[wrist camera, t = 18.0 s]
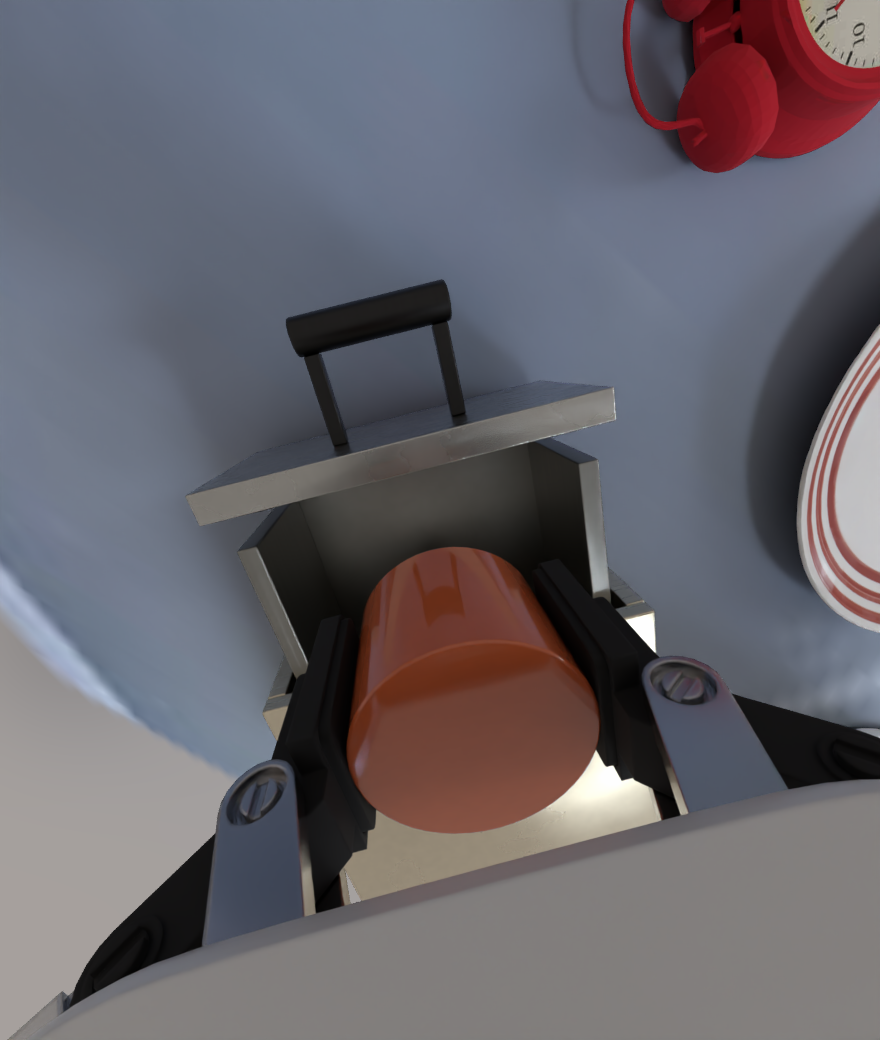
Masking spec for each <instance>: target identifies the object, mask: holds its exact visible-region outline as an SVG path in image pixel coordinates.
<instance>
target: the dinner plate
mask: <svg viewBox="0 0 880 1040" xmlns="http://www.w3.org/2000/svg"><path fill="white" fill-rule="evenodd" d="M797 511H798V512H797V523H796V525H797V536H798V545H799V552H800V557H801V560H802V564H803V567H804V570H805V572H806V574H807V577H808V579H809V581H810V583H811V585H812V586H813V588H814V589H815V591H816V592H817V594H818V595H819V596H820V598H821V599H822V600H823V601H824V602H825V603H826V604H827V605H828V606H829V607H830V608H831V609H832V610H833V611H834V612H836V613H837V614H838V615H840V616H841V617H843V618H844V619H845V620H847V621H849V622H851V623H853V624H855V625H857V626H859V627H862V628H865V629H868V630H871V631H874V632H878V633H880V324H879V326H878V327H877V328H876V329H875V330H874V332H873V333H872V335H871V336H870V338H869V339H868V341H867V342H866V344H865V345H864V347H863V348H862V349H861V351H860V353H859V355H858V356H857V357H856V358H855V359H854V361H853V363H852V364H851V366H850V367H849V369H848V371H847V372H846V374H845V376H844V377H843V379H842V381H841V383H840V384H839V386H838V388H837V390H836V392H835V394H834V395H833V397H832V399H831V401H830V403H829V405H828V407H827V409H826V411H825V413H824V415H823V417H822V419H821V421H820V424H819V426H818V428H817V431H816V433H815V435H814V438H813V441H812V444H811V447H810V450H809V452H808V455H807V458H806V461H805V465H804V468H803V472H802V477H801V481H800V487H799V495H798V503H797Z"/></svg>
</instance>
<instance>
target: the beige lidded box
mask: <svg viewBox="0 0 880 1040" xmlns="http://www.w3.org/2000/svg"><path fill="white" fill-rule="evenodd" d="M608 575H609V586H610V597H611V605H612V606H613V607H614V608H615V609H616V610H617V611H618V612H619V614H620V615H621V616H622V617H623V618H624V619H625V620H626V621H627V622H628V623H629V625H630V626H631V627H632V628H633V629H634V630H635V631H636V632H637V633H638V634H639V635H640V637H641V638H642V639H643V640H644V641H645V642H646V643H647V644H648V645H649V646H650V648H651V649H652V650H653V651H654V652H655V653H656V633H655V612H654V610H653V609H652V608H651V607H650V606H649V605H648V604H647V603H645V602H644V600H643V599H642V598H641V597H640V596H639V595H638V594H636V593H635V592H634V591H633V590H632V589H631V588H630V587H629V586H628V585H627V584H626V583H625V582H624V581H623V580H622V579H620V578H619V577H618V576H617V575H616V574H615V573H614V572H613V571H612V570H611V569H610V568H609V567H608ZM295 683H296V677H295V675H294V673H293V671H292V669H291V667H290V665H289V663H288V660H287V658H286V656H285V655H284V658H283V660H282V663H281V665H280V668H279V670H278V673H277V676H276V678H275V681H274V683H273V686H272V688H271V691H270V694H269V696H268V700H267V702H266V705H265V707H264V710H263V716H264V718H265V720H266V722H267V723H268V725H269V727H270V729H271V731H272V733H273V735H274V737H275V739H276V740H278V737H279V734H280V731H281V727H282V724H283V721H284V718H285V715H286V711H287V708H288V705H289V702H290V699H291V695H292V692H293V689H294V686H295ZM654 822H658V821H657V818H656V814H655V811H654V807H653V804H652V800H651V797H650V793H649V790H648V786H645V785H643V784H641V783H639V782H637V781H634V779H633V778H631V779H628V780H624V781H621V779H620V777H619V776H618V774H617V772H616V770H615V768H614V766H609V767H606V766H605V765H604V764H603V762H602V760H601V758H600V756H599V754H598V753H597V751H595V753H594V755H593V758H592V760H591V762H590V764H589V765H588V767H587V768H586V770H585V771H584V773H583V774H582V776H581V777H580V778H579V779H578V780H577V782H576V783H575V784H574V785H573V786H572V787H571V788H570V789H569V790H568V791H567V792H566V793H565V794H564V795H563V796H561V797H560V798H559V799H557V800H556V801H555V802H554V803H552V804H551V805H549V806H548V807H546V808H544V809H543V810H541V811H540V812H538V813H536V814H534V815H532V816H530V817H528V818H526V819H523V820H521V821H518V822H516V823H513V824H510V825H507V826H504V827H501V828H497V829H492V830H488V831H483V832H475V833H464V834H445V833H435V832H427V831H423V830H419V829H414V828H411V827H408V826H405V825H403V824H400V823H398V822H396V821H394V820H392V819H390V818H388V817H386V816H385V815H383V814H382V813H380V812H379V811H377V810H376V824H375V828H374V829H373V830H369V831H368V841H367V849H366V850H362V851H358V852H355V853H353V854H352V857H351V858H350V860H349V861H348V862H347V863H346V865H345V866H344V869H345V871H346V873H347V874H348V877H349V878H350V880H351V882H352V884H353V886H354V888H355V890H356V892H357V894H358V895H359V897H360V899H361V901H364V900H367V899H371V898H375V897H378V896H382V895H385V894H389V893H393V892H396V891H400V890H404V889H407V888H411V887H414V886H418V885H422V884H426V883H429V882H433V881H437V880H440V879H444V878H448V877H451V876H455V875H459V874H463V873H466V872H470V871H474V870H477V869H481V868H485V867H488V866H492V865H496V864H500V863H503V862H507V861H511V860H514V859H518V858H522V857H526V856H529V855H533V854H537V853H541V852H544V851H548V850H552V849H556V848H559V847H563V846H567V845H570V844H574V843H578V842H582V841H586V840H589V839H593V838H597V837H601V836H605V835H608V834H612V833H616V832H620V831H624V830H628V829H631V828H635V827H639V826H643V825H647V824H650V823H654Z"/></svg>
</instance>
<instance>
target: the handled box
mask: <svg viewBox="0 0 880 1040" xmlns="http://www.w3.org/2000/svg"><path fill="white" fill-rule="evenodd" d="M451 316H452V310H451V302H450V297H449V292H448V288H447V285H446V283H445V281H444V280H442V279H441V280H437V281H433V282H429V283H425V284H421V285H417V286H413V287H409V288H405V289H401V290H397V291H393V292H389V293H385V294H381V295H377V296H373V297H369V298H365V299H361V300H357V301H353V302H349V303H345V304H341V305H337V306H333V307H329V308H325V309H321V310H317V311H313V312H309V313H305V314H301V315H297V316H293V317H288V318H287V319H286V328H287V332H288V335H289V338H290V341H291V344H292V346H293V348H294V350H295V352H296V353H297V355H298V356H299V357H304V360H305V363H306V366H307V369H308V372H309V375H310V378H311V381H312V384H313V387H314V390H315V393H316V396H317V399H318V402H319V405H320V408H321V411H322V414H323V417H324V420H325V423H326V426H327V429H328V432H329V434H327V435H323V436H319V437H315V438H311V439H307V440H303V441H299V442H295V443H291V444H287V445H283V446H279V447H275V448H271V449H268V450H264V451H260V452H257V453H255V454H253V455H252V456H250V457H248V458H247V459H245V460H243V461H242V462H240V463H238V464H237V465H235V466H233V467H232V468H230V469H229V470H227V471H225V472H224V473H222V474H220V475H219V476H217V477H215V478H214V479H212V480H210V481H209V482H207V483H205V484H204V485H202V486H200V487H199V488H197V489H195V490H194V491H192V492H190V493H189V494H187V495H186V496H185V497H186V499H187V501H188V503H189V505H190V507H191V510H192V512H193V514H194V516H195V518H196V520H197V522H198V524H199V526H204V525H208V524H212V523H216V522H220V521H224V520H228V519H231V518H235V517H239V516H243V515H247V514H251V513H255V512H259V511H263V510H267V509H271V508H275V509H274V510H273V511H272V512H271V513H270V514H269V515H268V517H267V518H266V519H265V520H264V521H263V522H262V524H261V525H260V526H259V527H258V528H257V529H256V530H255V532H254V533H253V534H252V535H251V536H250V537H249V539H248V540H247V541H246V542H245V543H244V544H243V545H242V547H241V548H240V549H239V550H238V551H237V553H238V556H239V558H240V560H241V562H242V564H243V566H244V568H245V571H246V573H247V575H248V577H249V579H250V581H251V583H252V586H253V588H254V590H255V592H256V594H257V596H258V598H259V601H260V603H261V605H262V607H263V609H264V611H265V613H266V615H267V618H268V620H269V622H270V624H271V626H272V628H273V630H274V633H275V635H276V637H277V639H278V641H279V643H280V645H281V648H282V650H283V652H284V654H285V656H286V658H287V660H288V663H289V665H290V667H291V669H292V671H293V673H294V675H295V677H296V680H297V678H298V676H300V675H301V674H304V673H306V670H307V667H308V663H309V660H310V656H311V653H312V650H313V646H314V643H315V639H316V636H317V632H318V629H319V625H320V622H321V620H323V619H326V618H330V617H334V616H338V615H343V616H344V618H345V619H347V618H351V619H352V621H353V623H354V626H355V629H356V632H357V634H358V637H359V639H360V632H361V624H362V618H363V613H364V609H365V606H366V603H367V600H368V599H369V597H370V595H371V593H372V591H373V590H374V588H375V587H376V586H377V584H378V583H379V581H380V580H381V579H382V578H383V577H384V576H385V575H386V574H387V573H388V572H390V571H391V570H392V569H393V568H395V567H396V566H397V565H399V564H400V563H402V562H404V561H405V560H407V559H409V558H411V557H413V556H415V555H417V554H420V553H423V552H426V551H429V550H433V549H439V548H446V547H468V548H473V549H479V550H483V551H486V552H489V553H492V554H494V555H496V556H498V557H500V558H502V559H504V560H505V561H507V562H508V563H510V564H511V565H512V566H513V567H515V568H516V569H517V570H518V571H519V572H520V573H521V574H522V576H523V577H524V578H525V579H526V581H527V583H528V584H529V586H530V587H531V589H532V591H533V592H534V594H535V596H536V593H535V587H534V581H533V574H532V571H533V570H537V569H538V564H539V563H543V562H547V561H551V560H555V559H559V560H560V561H561V562H562V563H563V565H564V566H565V567H566V568H567V569H568V570H569V572H570V573H571V574H572V575H573V576H574V577H575V579H576V580H577V581H578V582H579V583H580V584H581V586H582V587H583V588H584V589H585V590H586V591H587V593H588V594H589V595H590V596H591V597H592V599H593V598H597V597H604V598H605V599H607V600H608V601H609V603H610V604H611V597H610V586H609V575H608V563H607V552H606V541H605V530H604V519H603V508H602V497H601V485H600V474H599V463H598V459H596V458H594V457H592V456H590V455H587V454H585V453H583V452H581V451H578V450H576V449H574V448H572V447H570V446H567V445H565V444H563V443H561V442H559V441H556V440H554V439H552V438H550V437H553V436H557V435H561V434H565V433H569V432H573V431H577V430H581V429H585V428H588V427H592V426H596V425H600V424H604V423H608V422H612V421H615V420H616V409H615V395H614V387H608V386H596V385H585V384H573V383H562V382H550V381H536V382H532V383H528V384H524V385H520V386H516V387H512V388H509V389H505V390H501V391H497V392H493V393H489V394H485V395H481V396H477V397H473V398H469V399H465V400H463V395H462V390H461V385H460V380H459V375H458V370H457V365H456V360H455V356H454V351H453V346H452V341H451V336H450V331H449V326H448V322H447V321H449V320H451ZM429 325H432V332H433V337H434V341H435V346H436V351H437V355H438V360H439V364H440V369H441V373H442V378H443V383H444V387H445V392H446V396H447V401H448V404H445V405H441V406H437V407H433V408H430V409H426V410H422V411H418V412H414V413H410V414H406V415H402V416H398V417H394V418H390V419H386V420H382V421H378V422H374V423H370V424H366V425H362V426H358V427H354V428H350V429H347V430H345V427H344V424H343V421H342V418H341V415H340V411H339V408H338V405H337V402H336V399H335V396H334V392H333V389H332V386H331V383H330V380H329V377H328V374H327V370H326V367H325V364H324V361H323V358H322V355H321V354H319V353H322V352H326V351H330V350H334V349H338V348H342V347H346V346H350V345H354V344H358V343H362V342H366V341H370V340H374V339H378V338H382V337H386V336H390V335H394V334H398V333H402V332H406V331H410V330H414V329H417V328H421V327H425V326H429Z"/></svg>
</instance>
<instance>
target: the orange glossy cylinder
mask: <svg viewBox="0 0 880 1040" xmlns="http://www.w3.org/2000/svg"><path fill="white" fill-rule="evenodd" d="M600 729H601V721H600V712H599V705H598V701H597V697H596V695H595V692H594V690H593V688H592V686H591V685H590V683H589V682H588V680H587V678H586V677H585V675H584V673H583V672H582V670H581V669H580V667H579V665H578V664H577V662H576V660H575V659H574V657H573V656H572V654H571V652H570V651H569V649H568V647H567V646H566V644H565V643H564V641H563V639H562V638H561V636H560V634H559V633H558V631H557V630H556V628H555V626H554V625H553V623H552V622H551V620H550V618H549V617H548V615H547V613H546V612H545V610H544V609H543V607H542V605H541V604H540V602H539V600H538V599H537V597H536V596H535V594H534V592H533V591H532V589H531V587H530V586H529V584H528V583H527V581H526V579H525V578H524V577H523V576H522V574H521V573H520V572H519V571H518V570H517V569H516V568H515V567H513V566H512V565H511V564H510V563H508V562H507V561H505V560H504V559H502V558H500V557H498V556H496V555H494V554H492V553H489V552H486V551H483V550H479V549H473V548H468V547H446V548H439V549H433V550H429V551H426V552H423V553H420V554H417V555H415V556H413V557H411V558H409V559H407V560H405V561H404V562H402V563H400V564H399V565H397V566H396V567H395V568H393V569H392V570H391V571H390V572H388V573H387V574H386V575H385V576H384V577H383V578H382V579H381V580H380V581H379V583H378V584H377V586H376V587H375V588H374V590H373V591H372V593H371V595H370V597H369V599H368V600H367V603H366V606H365V609H364V613H363V618H362V624H361V632H360V639H359V647H358V655H357V663H356V670H355V678H354V686H353V694H352V701H351V709H350V717H349V725H348V732H347V740H346V757H347V764H348V768H349V771H350V774H351V777H352V779H353V781H354V784H355V785H356V787H357V789H358V791H359V792H360V793H361V795H362V796H363V797H364V798H365V800H366V801H367V802H368V803H369V804H370V805H371V806H373V807H374V808H375V809H376V810H377V811H379V812H380V813H382V814H383V815H385V816H386V817H388V818H390V819H392V820H394V821H396V822H398V823H400V824H403V825H405V826H408V827H411V828H414V829H419V830H423V831H427V832H435V833H445V834H464V833H475V832H483V831H488V830H492V829H497V828H501V827H504V826H507V825H510V824H513V823H516V822H518V821H521V820H523V819H526V818H528V817H530V816H532V815H534V814H536V813H538V812H540V811H541V810H543V809H544V808H546V807H548V806H549V805H551V804H552V803H554V802H555V801H556V800H557V799H559V798H560V797H561V796H563V795H564V794H565V793H566V792H567V791H568V790H569V789H570V788H571V787H572V786H573V785H574V784H575V783H576V782H577V780H578V779H579V778H580V777H581V776H582V774H583V773H584V771H585V770H586V768H587V767H588V765H589V764H590V762H591V760H592V758H593V755H594V753H595V751H596V748H597V745H598V741H599V736H600Z"/></svg>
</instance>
